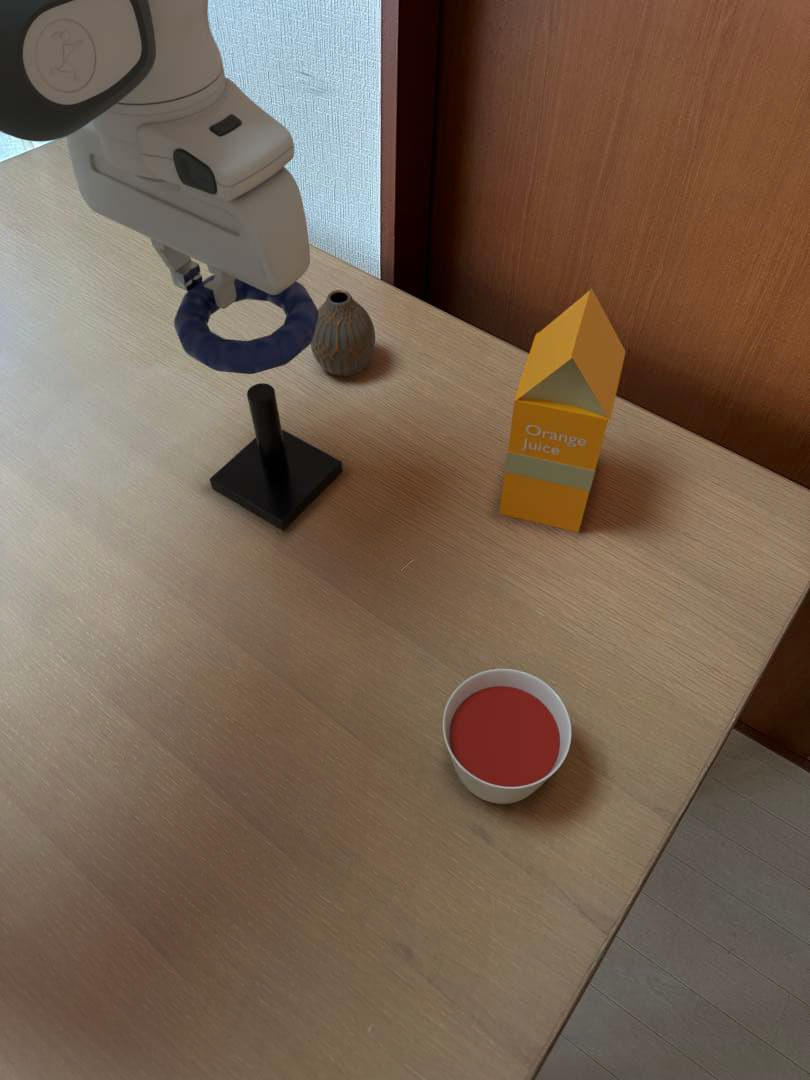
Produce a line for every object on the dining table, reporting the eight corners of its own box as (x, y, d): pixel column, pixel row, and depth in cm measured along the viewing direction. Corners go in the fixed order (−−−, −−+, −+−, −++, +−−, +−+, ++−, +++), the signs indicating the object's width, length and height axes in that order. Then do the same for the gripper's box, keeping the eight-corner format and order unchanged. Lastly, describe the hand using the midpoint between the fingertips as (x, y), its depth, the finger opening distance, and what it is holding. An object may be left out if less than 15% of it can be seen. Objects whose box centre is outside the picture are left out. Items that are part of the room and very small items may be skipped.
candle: (462, 691, 67) (466, 652, 62) (571, 729, 65) (585, 692, 60) (423, 793, 62) (424, 760, 57) (540, 838, 60) (551, 808, 55)
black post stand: (283, 531, 77) (265, 445, 68) (212, 489, 80) (185, 401, 71) (343, 471, 81) (334, 383, 72) (273, 433, 84) (256, 344, 75)
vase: (353, 393, 88) (348, 327, 81) (300, 371, 90) (290, 303, 83) (388, 356, 91) (386, 289, 84) (336, 335, 93) (330, 268, 86)
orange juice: (497, 514, 78) (519, 346, 62) (518, 448, 83) (543, 277, 67) (580, 533, 76) (625, 367, 60) (596, 465, 81) (641, 294, 65)
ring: (253, 400, 61) (249, 376, 59) (150, 339, 65) (142, 315, 63) (345, 323, 66) (344, 298, 64) (244, 270, 70) (240, 245, 68)
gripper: (21, 93, 56) (86, 268, 68) (245, 186, 49) (277, 365, 60) (92, 58, 60) (142, 231, 71) (313, 141, 52) (331, 319, 63)
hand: (206, 293), depth 65 cm, fingers closed on ring, 2 cm apart
